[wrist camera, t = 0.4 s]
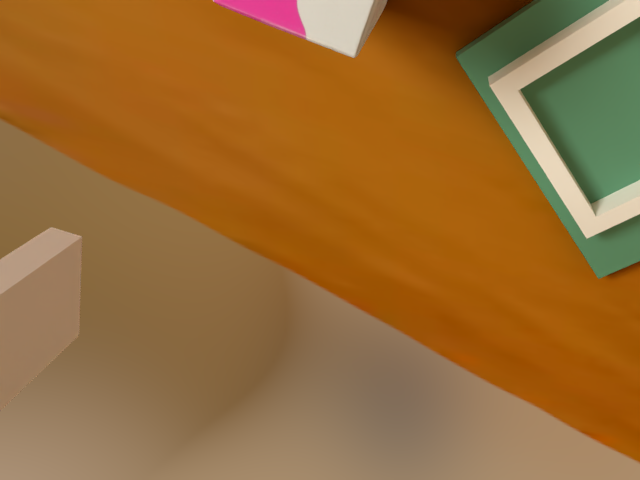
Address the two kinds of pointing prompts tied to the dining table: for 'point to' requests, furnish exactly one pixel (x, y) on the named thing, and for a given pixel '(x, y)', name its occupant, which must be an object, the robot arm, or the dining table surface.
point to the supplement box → (316, 19)
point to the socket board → (572, 114)
